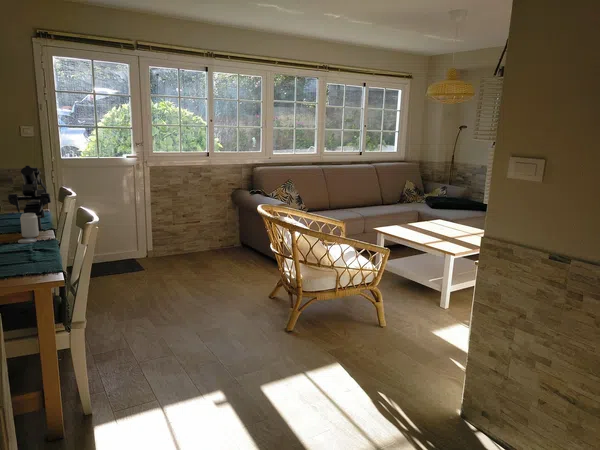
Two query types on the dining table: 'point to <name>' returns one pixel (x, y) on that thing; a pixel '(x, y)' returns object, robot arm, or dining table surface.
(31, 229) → the can
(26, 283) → the dining table surface
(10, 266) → the dining table surface
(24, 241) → the coaster
